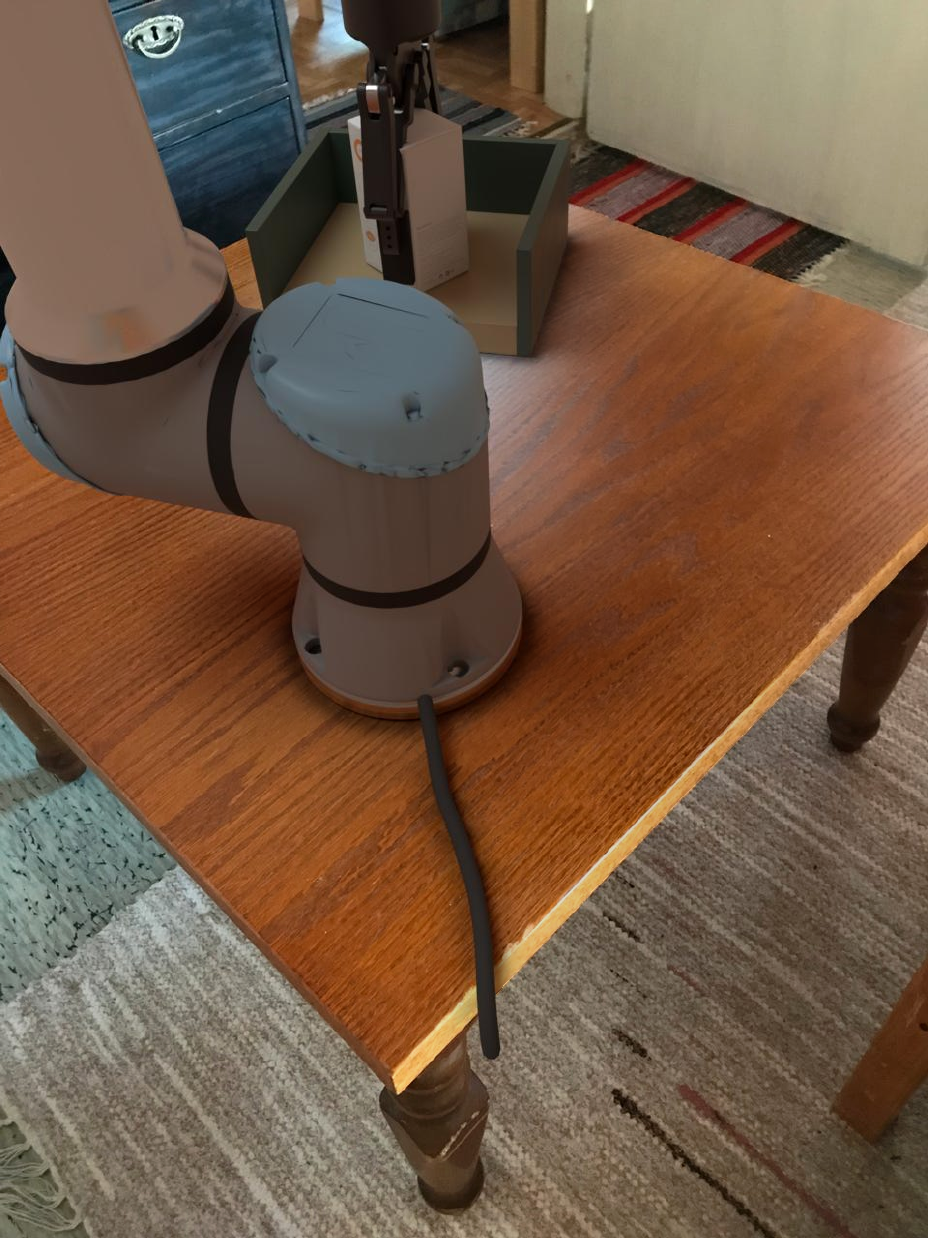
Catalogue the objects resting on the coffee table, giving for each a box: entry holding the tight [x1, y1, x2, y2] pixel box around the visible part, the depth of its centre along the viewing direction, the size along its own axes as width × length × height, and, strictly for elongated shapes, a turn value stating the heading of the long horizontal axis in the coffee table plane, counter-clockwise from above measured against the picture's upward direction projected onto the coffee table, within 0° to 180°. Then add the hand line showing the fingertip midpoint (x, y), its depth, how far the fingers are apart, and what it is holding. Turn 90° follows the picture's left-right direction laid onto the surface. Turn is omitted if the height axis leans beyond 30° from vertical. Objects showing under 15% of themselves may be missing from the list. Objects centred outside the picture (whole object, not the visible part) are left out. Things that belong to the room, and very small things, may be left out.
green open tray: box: [244, 126, 572, 358], centre depth 91 cm, size 20×25×10 cm
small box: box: [347, 108, 469, 292], centre depth 86 cm, size 8×6×13 cm
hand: (414, 251), depth 90 cm, fingers closed on small box, 10 cm apart
